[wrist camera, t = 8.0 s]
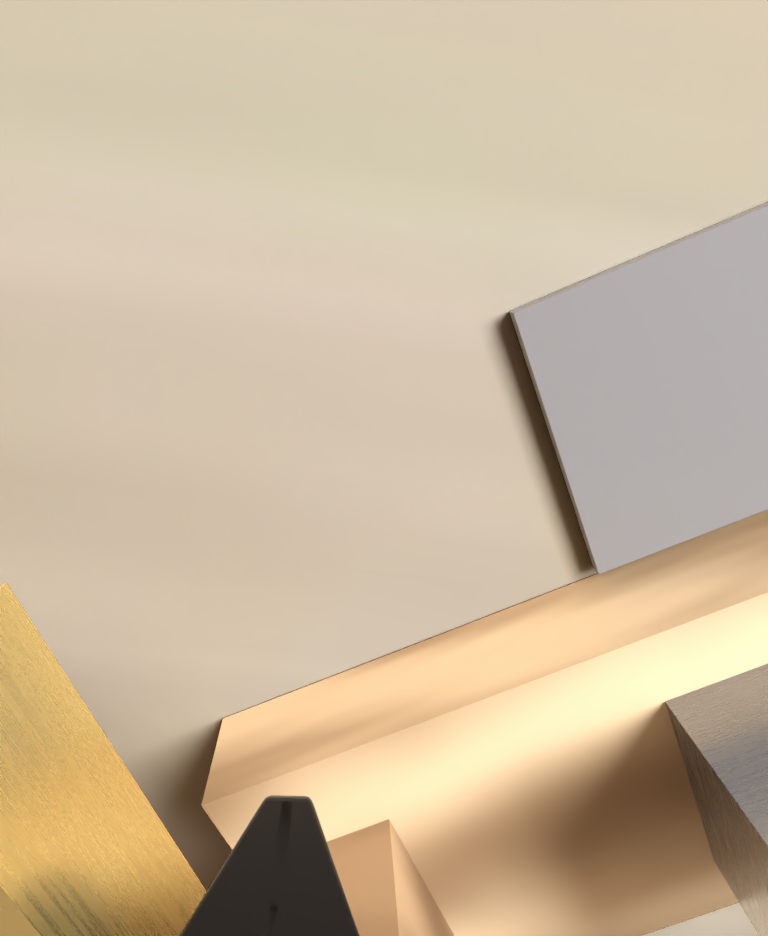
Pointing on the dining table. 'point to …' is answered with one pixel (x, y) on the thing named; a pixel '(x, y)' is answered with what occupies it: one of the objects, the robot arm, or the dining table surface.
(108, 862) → the lever
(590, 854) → the body
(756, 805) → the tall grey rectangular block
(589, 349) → the pad
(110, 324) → the dining table surface
